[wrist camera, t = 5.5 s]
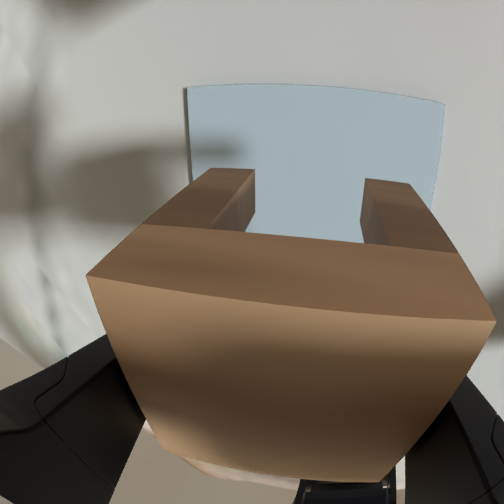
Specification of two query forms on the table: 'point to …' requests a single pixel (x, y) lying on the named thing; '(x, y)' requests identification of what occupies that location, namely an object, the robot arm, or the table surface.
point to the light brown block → (290, 331)
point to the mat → (314, 150)
